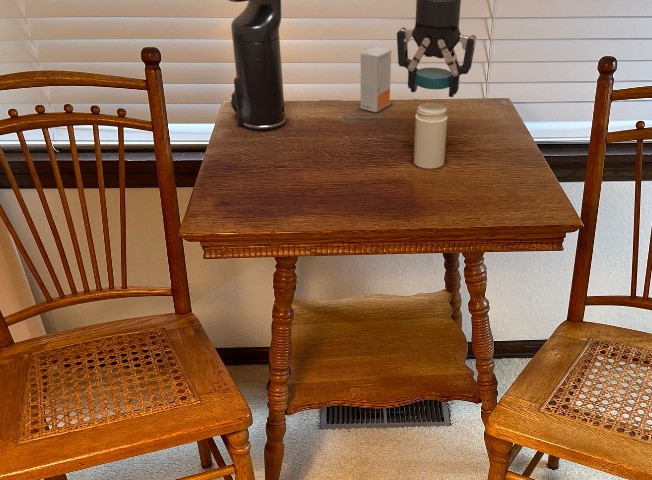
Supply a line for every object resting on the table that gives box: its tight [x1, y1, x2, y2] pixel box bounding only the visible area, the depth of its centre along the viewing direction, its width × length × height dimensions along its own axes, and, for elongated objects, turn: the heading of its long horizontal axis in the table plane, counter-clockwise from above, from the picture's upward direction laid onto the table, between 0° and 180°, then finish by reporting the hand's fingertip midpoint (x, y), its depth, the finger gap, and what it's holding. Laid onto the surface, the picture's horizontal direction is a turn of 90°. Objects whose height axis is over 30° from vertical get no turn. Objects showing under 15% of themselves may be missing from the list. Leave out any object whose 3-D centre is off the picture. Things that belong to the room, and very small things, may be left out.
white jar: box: [413, 102, 449, 170], centre depth 142 cm, size 6×6×11 cm
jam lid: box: [415, 67, 452, 90], centre depth 135 cm, size 7×7×2 cm
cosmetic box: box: [360, 46, 392, 113], centre depth 163 cm, size 6×4×12 cm
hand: (432, 93), depth 137 cm, fingers closed on jam lid, 6 cm apart
